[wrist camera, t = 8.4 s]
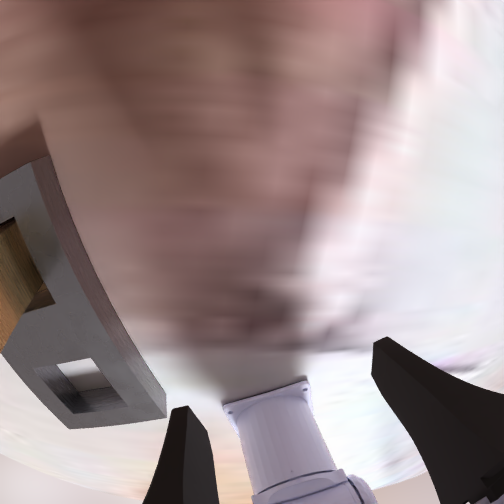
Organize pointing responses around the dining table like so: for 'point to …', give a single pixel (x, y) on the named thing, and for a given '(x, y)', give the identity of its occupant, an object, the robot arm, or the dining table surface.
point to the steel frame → (70, 315)
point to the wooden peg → (15, 279)
